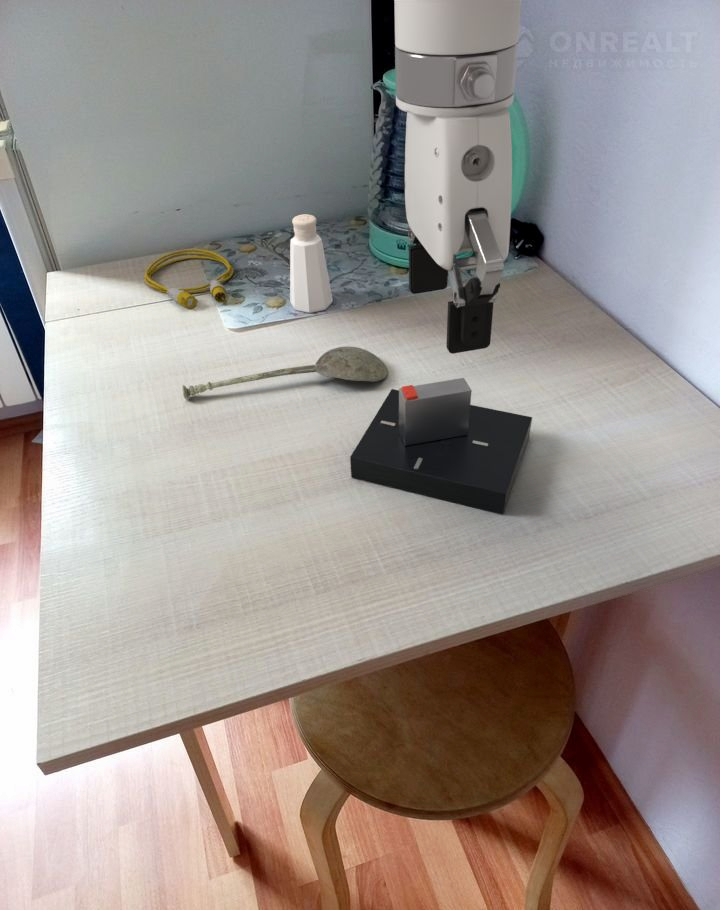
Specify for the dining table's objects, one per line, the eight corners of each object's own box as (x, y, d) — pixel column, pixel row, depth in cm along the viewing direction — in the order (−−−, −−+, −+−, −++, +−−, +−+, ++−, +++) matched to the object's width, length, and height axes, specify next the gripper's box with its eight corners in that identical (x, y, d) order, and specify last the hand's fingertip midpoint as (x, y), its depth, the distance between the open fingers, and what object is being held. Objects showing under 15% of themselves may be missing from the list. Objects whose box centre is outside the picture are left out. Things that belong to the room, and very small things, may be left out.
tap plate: (529, 437, 68) (532, 415, 66) (503, 515, 60) (506, 492, 58) (391, 408, 72) (391, 387, 70) (351, 477, 64) (349, 455, 63)
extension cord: (129, 313, 89) (125, 298, 87) (157, 257, 101) (154, 244, 99) (225, 310, 88) (223, 295, 87) (242, 255, 100) (240, 241, 99)
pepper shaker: (292, 292, 91) (283, 209, 84) (334, 292, 91) (329, 208, 84) (287, 313, 87) (277, 227, 80) (331, 313, 87) (325, 227, 80)
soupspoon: (394, 392, 75) (380, 361, 80) (395, 364, 73) (381, 334, 78) (184, 416, 72) (184, 382, 77) (179, 388, 70) (179, 355, 75)
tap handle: (460, 421, 66) (464, 375, 62) (467, 434, 64) (472, 387, 61) (398, 432, 65) (398, 386, 62) (404, 446, 63) (405, 399, 60)
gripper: (572, 103, 39) (537, 367, 50) (464, 46, 52) (455, 265, 63) (441, 119, 38) (434, 385, 49) (365, 56, 51) (374, 277, 62)
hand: (446, 317), depth 56 cm, fingers open, 9 cm apart
